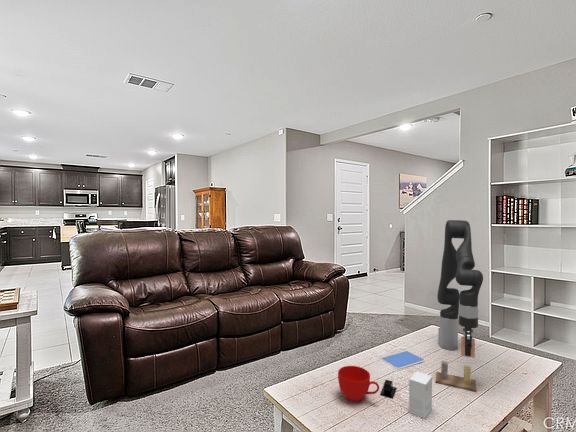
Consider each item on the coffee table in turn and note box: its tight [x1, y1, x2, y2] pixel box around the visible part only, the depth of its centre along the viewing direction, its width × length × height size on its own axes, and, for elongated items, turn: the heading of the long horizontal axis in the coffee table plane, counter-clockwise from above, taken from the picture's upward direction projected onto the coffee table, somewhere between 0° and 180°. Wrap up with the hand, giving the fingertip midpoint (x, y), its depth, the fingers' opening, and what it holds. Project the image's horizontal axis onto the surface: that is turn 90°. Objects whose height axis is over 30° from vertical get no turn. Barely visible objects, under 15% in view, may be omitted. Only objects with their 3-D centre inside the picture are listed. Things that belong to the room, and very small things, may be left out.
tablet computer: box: [380, 350, 426, 371], centre depth 168 cm, size 19×13×1 cm, turn 117°
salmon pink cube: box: [460, 336, 476, 359], centre depth 144 cm, size 5×5×7 cm
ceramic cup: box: [337, 365, 380, 403], centre depth 134 cm, size 13×17×10 cm
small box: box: [408, 371, 433, 419], centre depth 126 cm, size 8×6×13 cm
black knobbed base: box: [379, 379, 398, 400], centre depth 139 cm, size 12×7×5 cm, turn 152°
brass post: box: [463, 365, 472, 385], centre depth 144 cm, size 3×3×7 cm
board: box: [434, 360, 478, 393], centre depth 146 cm, size 16×9×8 cm, turn 63°
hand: (467, 353), depth 144 cm, fingers closed on salmon pink cube, 5 cm apart
